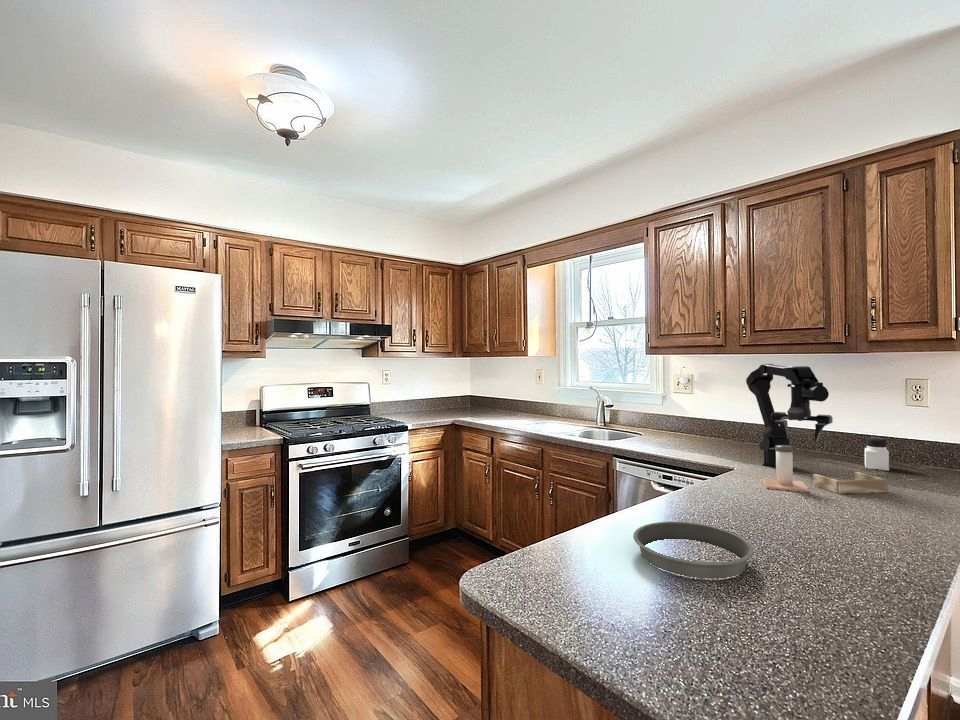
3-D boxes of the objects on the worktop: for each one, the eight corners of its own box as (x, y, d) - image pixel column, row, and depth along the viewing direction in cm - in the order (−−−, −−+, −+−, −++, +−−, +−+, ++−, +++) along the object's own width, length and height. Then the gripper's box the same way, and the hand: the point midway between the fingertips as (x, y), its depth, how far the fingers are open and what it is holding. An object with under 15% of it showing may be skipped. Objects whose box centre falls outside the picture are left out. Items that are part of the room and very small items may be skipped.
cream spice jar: (772, 482, 164) (772, 445, 164) (785, 481, 165) (784, 444, 165) (784, 486, 159) (783, 447, 159) (797, 485, 160) (796, 447, 160)
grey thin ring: (654, 531, 123) (654, 514, 123) (762, 555, 107) (762, 535, 107) (616, 564, 104) (616, 543, 104) (741, 598, 88) (740, 574, 88)
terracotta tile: (763, 480, 170) (763, 478, 170) (802, 483, 164) (802, 481, 164) (766, 488, 159) (766, 486, 159) (808, 492, 154) (808, 490, 154)
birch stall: (813, 485, 162) (813, 474, 162) (858, 483, 164) (857, 471, 164) (839, 494, 151) (839, 482, 151) (887, 491, 153) (887, 479, 153)
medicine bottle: (889, 471, 180) (889, 440, 180) (865, 468, 184) (865, 438, 184) (887, 467, 186) (887, 437, 186) (864, 465, 190) (864, 435, 190)
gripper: (765, 399, 178) (766, 440, 178) (825, 402, 164) (826, 446, 164) (774, 397, 186) (775, 436, 186) (832, 400, 172) (833, 442, 172)
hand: (801, 440), depth 177 cm, fingers open, 9 cm apart
